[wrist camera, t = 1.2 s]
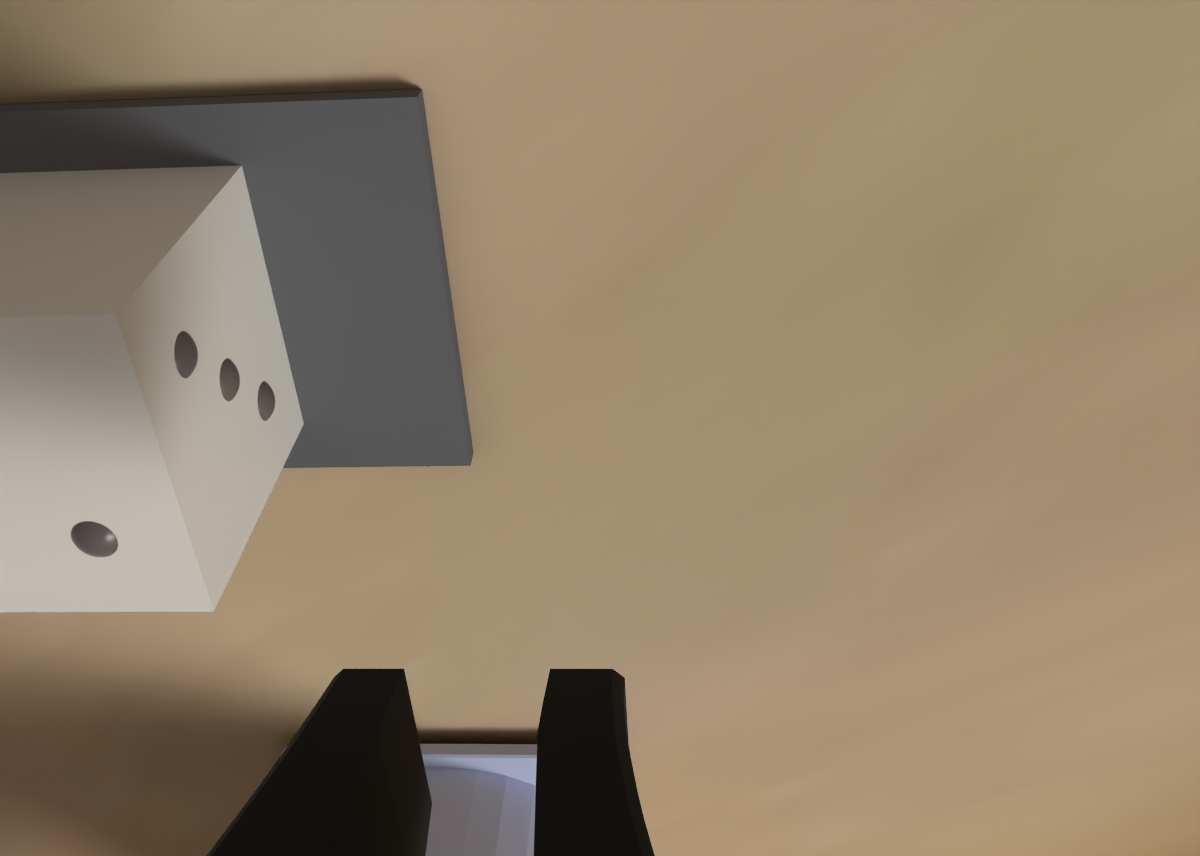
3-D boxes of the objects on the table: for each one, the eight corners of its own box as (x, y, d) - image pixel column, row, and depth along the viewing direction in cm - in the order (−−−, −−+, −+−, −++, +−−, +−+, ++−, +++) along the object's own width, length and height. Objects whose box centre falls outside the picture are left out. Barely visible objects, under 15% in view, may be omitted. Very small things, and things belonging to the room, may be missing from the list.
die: (313, 430, 21) (222, 626, 17) (39, 434, 21) (-118, 626, 17) (250, 164, 18) (122, 320, 14) (-65, 175, 19) (-284, 329, 14)
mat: (473, 453, 22) (470, 465, 21) (-172, 461, 23) (-184, 473, 22) (421, 88, 18) (417, 97, 17) (-356, 117, 19) (-374, 125, 18)
